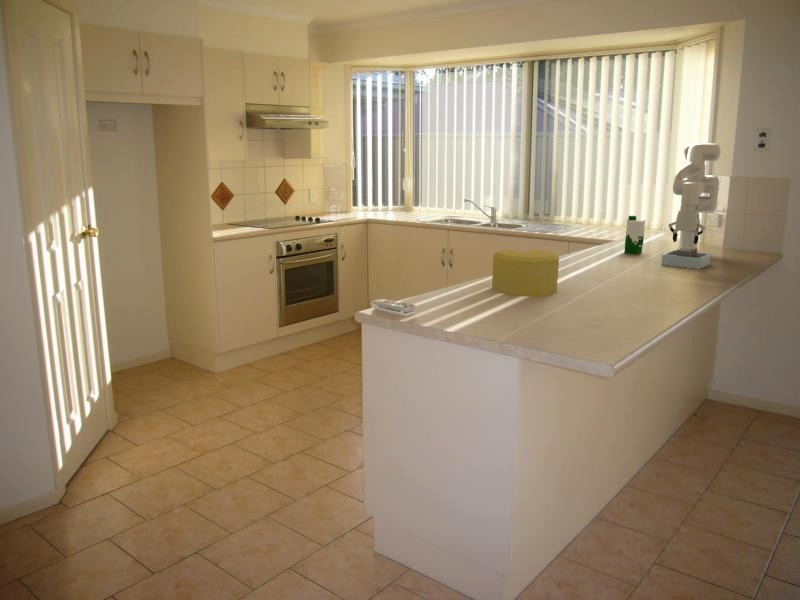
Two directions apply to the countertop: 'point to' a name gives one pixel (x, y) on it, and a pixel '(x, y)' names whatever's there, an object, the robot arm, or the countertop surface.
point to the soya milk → (634, 235)
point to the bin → (685, 260)
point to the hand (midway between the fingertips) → (685, 242)
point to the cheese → (525, 273)
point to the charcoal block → (684, 252)
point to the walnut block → (693, 251)
